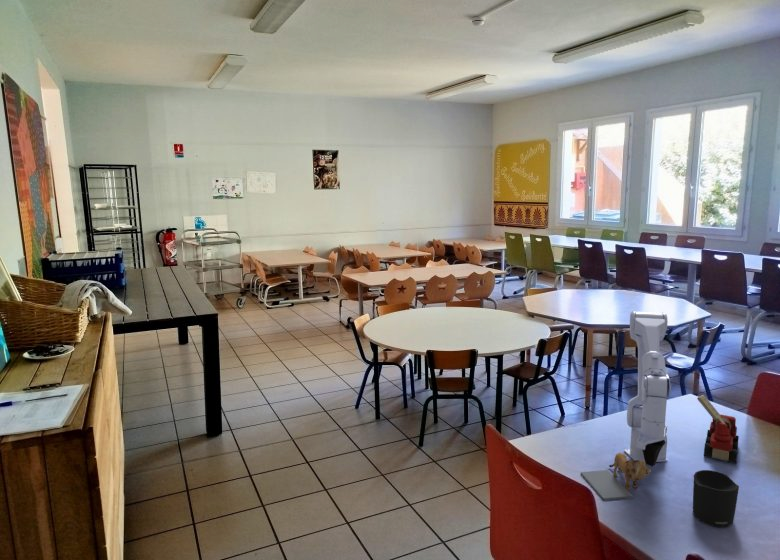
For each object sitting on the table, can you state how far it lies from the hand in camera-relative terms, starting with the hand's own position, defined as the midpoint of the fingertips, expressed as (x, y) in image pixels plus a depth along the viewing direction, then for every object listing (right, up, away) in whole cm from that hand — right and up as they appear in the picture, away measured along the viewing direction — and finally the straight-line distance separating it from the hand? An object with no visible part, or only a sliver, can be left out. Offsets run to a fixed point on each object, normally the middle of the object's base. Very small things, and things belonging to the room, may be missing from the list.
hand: (650, 464), depth 148 cm
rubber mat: (-12, -6, 0) cm, 14 cm away
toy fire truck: (+28, -2, +17) cm, 33 cm away
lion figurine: (-6, -6, +1) cm, 8 cm away
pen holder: (+8, -8, -15) cm, 19 cm away
